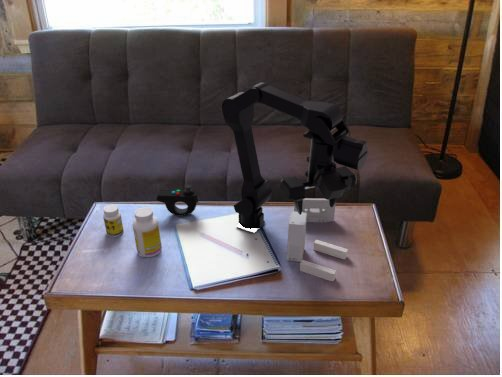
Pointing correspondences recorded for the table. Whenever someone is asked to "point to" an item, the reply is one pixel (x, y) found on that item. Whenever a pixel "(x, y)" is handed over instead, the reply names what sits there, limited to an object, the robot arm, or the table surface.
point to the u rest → (321, 270)
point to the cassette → (319, 215)
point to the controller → (179, 200)
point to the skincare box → (296, 236)
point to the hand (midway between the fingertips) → (315, 210)
